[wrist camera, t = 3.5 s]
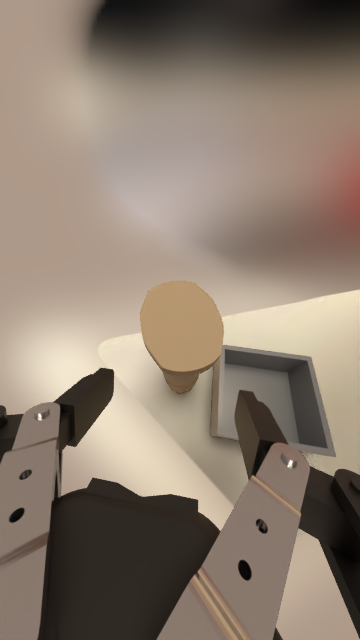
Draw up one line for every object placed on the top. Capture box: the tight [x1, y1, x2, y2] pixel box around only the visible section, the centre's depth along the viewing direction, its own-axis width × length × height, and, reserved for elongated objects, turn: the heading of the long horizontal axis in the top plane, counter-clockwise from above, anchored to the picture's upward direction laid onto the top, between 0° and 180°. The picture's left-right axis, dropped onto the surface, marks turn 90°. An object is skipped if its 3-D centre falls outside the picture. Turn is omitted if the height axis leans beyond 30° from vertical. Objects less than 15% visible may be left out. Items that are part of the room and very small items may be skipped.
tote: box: [210, 345, 336, 457], centre depth 20 cm, size 10×9×5 cm
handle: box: [140, 281, 224, 394], centre depth 17 cm, size 5×6×15 cm
